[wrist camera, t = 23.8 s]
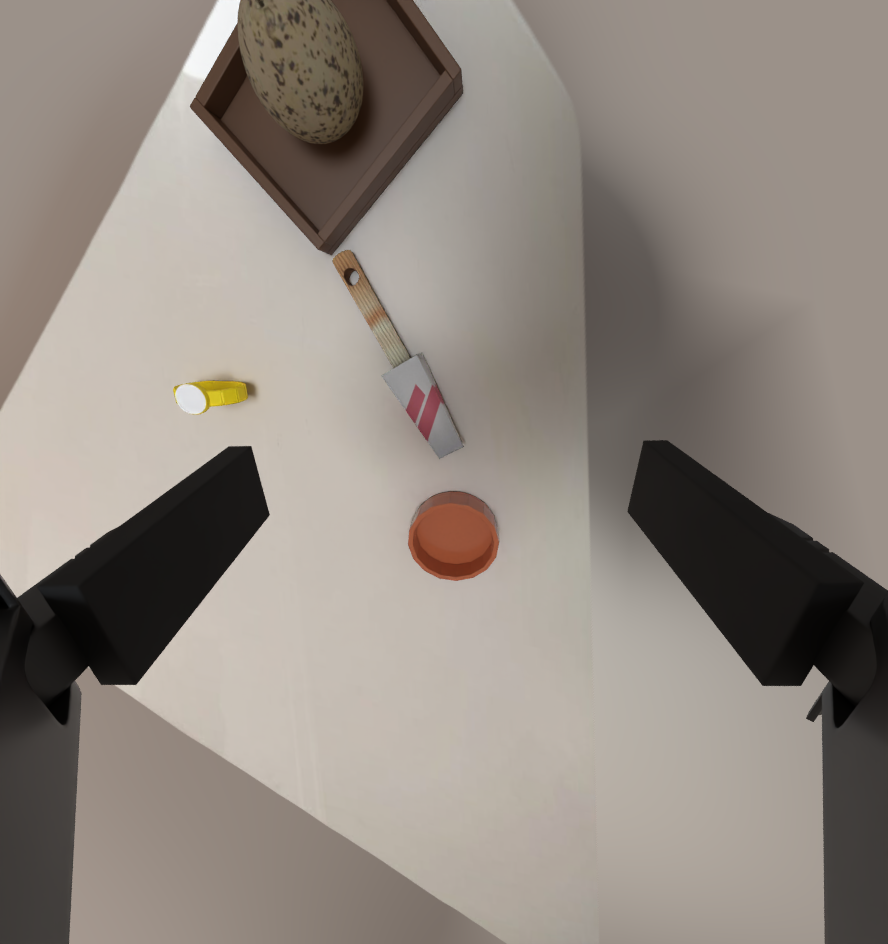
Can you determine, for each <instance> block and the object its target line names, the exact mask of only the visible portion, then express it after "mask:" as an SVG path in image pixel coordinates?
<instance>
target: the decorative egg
mask: <svg viewBox="0 0 888 944" xmlns="http://www.w3.org/2000/svg"><path fill="white" fill-rule="evenodd" d="M238 39H239V46H240V52H241V56H242V60H243V64H244V67H245V70H246V73H247V75H248V78H249V80H250V83H251V85H252V87H253V89H254V91H255V93H256V95H257V97H258V98H259V100H260V102H261V103H262V105H263V106H264V108H265V109H266V110H267V112H268V113H269V114H270V115H271V116H272V118H273V119H274V120H275V121H276V122H277V123H278V124H279V125H280V126H281V127H282V128H284V129H285V130H286V131H287V132H289V133H290V134H292V135H293V136H295V137H297V138H299V139H301V140H303V141H306V142H309V143H314V144H327V143H331V142H334V141H336V140H338V139H340V138H341V137H343V136H344V135H345V134H346V133H347V132H348V131H349V130H350V129H351V127H352V126H353V125H354V123H355V121H356V119H357V117H358V114H359V111H360V108H361V104H362V98H363V72H362V64H361V60H360V56H359V52H358V48H357V46H356V43H355V40H354V37H353V35H352V33H351V31H350V28H349V27H348V25H347V23H346V21H345V19H344V18H343V16H342V15H341V13H340V12H339V10H338V9H337V7H336V6H335V5H334V4H333V2H332V1H331V0H241V1H240V5H239V10H238Z"/></svg>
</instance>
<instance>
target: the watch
mask: <svg viewBox="0 0 888 944" xmlns="http://www.w3.org/2000/svg"><path fill="white" fill-rule="evenodd" d="M173 391H174V395H175V399H176V403H177V404H178V405H179V406H180V408H181V409H183V410H184V411H185V412H187V413H189V414H193V415H198V414H201V413H204V412H206V411H207V410H208V409H209V407H211V406H223V405H229V404H234V403H239V402H242V401H244V400H246V399H247V398H248V394H247V388H246V384H245V383H242V382H235V381H201V382H192V383H186V384H181V385H178V386H175V387H174V389H173Z"/></svg>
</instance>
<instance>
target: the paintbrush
mask: <svg viewBox="0 0 888 944" xmlns="http://www.w3.org/2000/svg"><path fill="white" fill-rule="evenodd" d="M333 264H334V266H335V267H336V269H337V271H338V273H339V274H340V276H341V278H342V279H343V281H344V283H345V285H346V286H347V288H348V290H349V292H350V293H351V295H352V297H353V299H354V300H355V302H356V304H357V306H358V307H359V309H360V311H361V312H362V314H363V316H364V318H365V319H366V321H367V323H368V325H369V326H370V328H371V330H372V331H373V333H374V335H375V337H376V338H377V340H378V342H379V343H380V345H381V347H382V349H383V350H384V352H385V354H386V356H387V358H388V359H389V361H390V363H391V365H392V367H393V368H394V369H392V370H390V371H388V372H387V373H385V374H383V375H382V378H383V379H384V380H385V382H386V383H387V385H388V386H389V388H390V389H391V390H392V392H393V393H394V395H395V396H396V398H397V399H398V400H399V402H400V403H401V405H402V406H403V407H404V409H405V410H406V412H407V413H408V415H409V416H410V417H411V419H412V420H413V422H414V423H415V425H416V426H417V427H418V429H419V430H420V432H421V433H422V435H423V436H424V437H425V439H426V440H427V442H428V443H429V444H430V446H431V447H432V449H433V450H434V452H435V453H436V454H437V456H438V457H439V459H440V458H442V457H444V456H446V455H448V454H450V453H452V452H454V451H456V450H458V449H460V448H462V447H464V446H463V444H462V441H461V439H460V437H459V435H458V432H457V430H456V428H455V426H454V423H453V421H452V419H451V417H450V414H449V412H448V410H447V408H446V405H445V403H444V401H443V399H442V396H441V394H440V392H439V389H438V387H437V385H436V383H435V380H434V378H433V376H432V374H431V371H430V369H429V367H428V365H427V362H426V360H425V358H424V356H423V353H420V354H419V355H415V356H414V357H412V358H410V356H409V355H408V353H407V351H406V349H405V347H404V346H403V344H402V342H401V340H400V339H399V337H398V335H397V333H396V331H395V330H394V328H393V326H392V324H391V322H390V321H389V319H388V317H387V315H386V313H385V311H384V310H383V308H382V306H381V304H380V302H379V301H378V299H377V297H376V295H375V293H374V291H373V290H372V288H371V286H370V284H369V282H368V281H367V279H366V277H365V275H364V273H363V272H362V270H361V268H360V266H359V264H358V262H357V261H356V259H355V257H354V255H353V253H352V252H351V251H350V250H345V251H342V252H341V253H339V254H338V255H336V256H335V258H333ZM353 271H357V272H358V274H359V280H358V282H357V283H356V285H353V286H352V285H351V283H350V281H349V277H350V274H351V273H352V272H353Z"/></svg>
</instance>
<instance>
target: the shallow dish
mask: <svg viewBox="0 0 888 944" xmlns="http://www.w3.org/2000/svg"><path fill="white" fill-rule="evenodd" d="M498 545H499V537H498V529H497V524H496V520H495V517H494V515H493V513H492V511H491V510H490V509H489V507H488V506H487V505H486V504H485V503H484V502H482V501H481V500H480V499H478V498H477V497H475V496H472V495H470V494H467V493H463V492H444V493H440V494H437V495H434V496H432V497H431V498H429V499H427V500H426V501H425V502H424V503H423V504H422V505H421V506H420V507H419V509H418V510H417V512H416V514H415V516H414V518H413V520H412V524H411V527H410V530H409V540H408V546H409V549H410V551H411V554H412V557H413V559H414V560H415V561H416V562H417V563H418V564H419V565H420V567H421V568H422V569H423V570H424V571H426V572H428V573H430V574H432V575H434V576H436V577H438V578H440V579H447V580H454V581H458V580H463V579H469V578H473V577H475V576H477V575H478V574H480V573H482V572H484V571H485V570H487V569H488V567H489V566H490V565H491V563H492V562H493V561H494V559H495V558H496V555H497V550H498Z"/></svg>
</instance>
